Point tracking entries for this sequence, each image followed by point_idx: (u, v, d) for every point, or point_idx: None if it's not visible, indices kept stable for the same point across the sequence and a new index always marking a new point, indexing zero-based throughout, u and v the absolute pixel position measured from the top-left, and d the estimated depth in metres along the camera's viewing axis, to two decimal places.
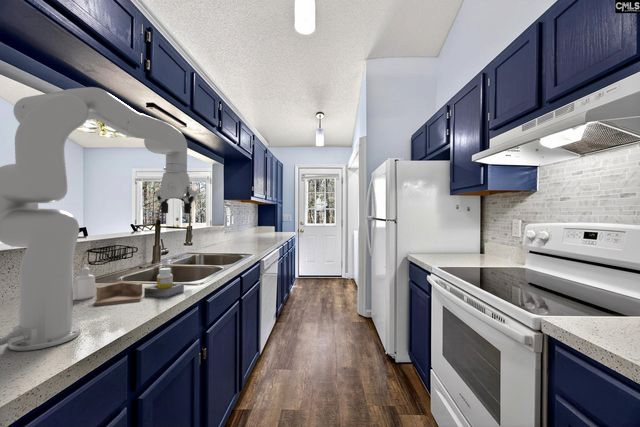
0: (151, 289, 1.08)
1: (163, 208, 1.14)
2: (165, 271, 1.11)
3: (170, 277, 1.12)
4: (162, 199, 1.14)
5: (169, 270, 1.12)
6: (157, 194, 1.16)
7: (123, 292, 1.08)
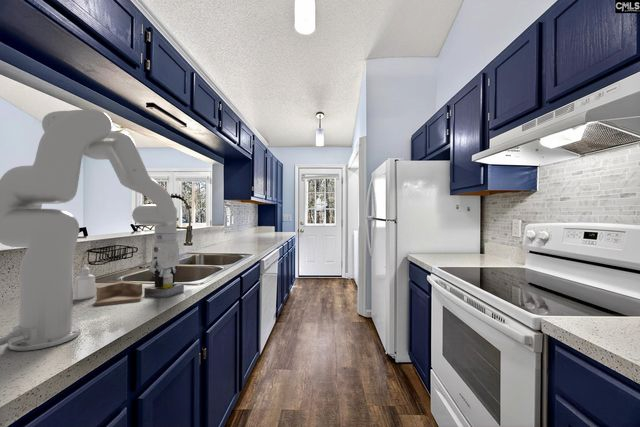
0: (151, 289, 1.08)
1: None
2: (165, 271, 1.11)
3: (170, 277, 1.12)
4: (162, 272, 1.09)
5: (169, 270, 1.12)
6: (154, 269, 1.06)
7: (123, 292, 1.08)
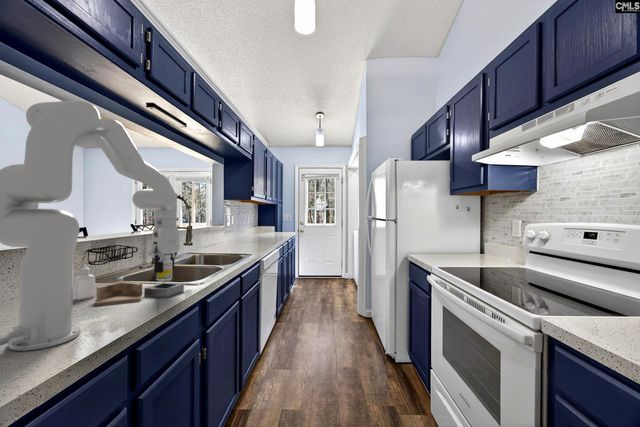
0: (151, 289, 1.08)
1: None
2: (165, 257, 1.10)
3: (170, 263, 1.11)
4: (161, 258, 1.09)
5: (169, 256, 1.12)
6: (154, 254, 1.06)
7: (123, 292, 1.08)
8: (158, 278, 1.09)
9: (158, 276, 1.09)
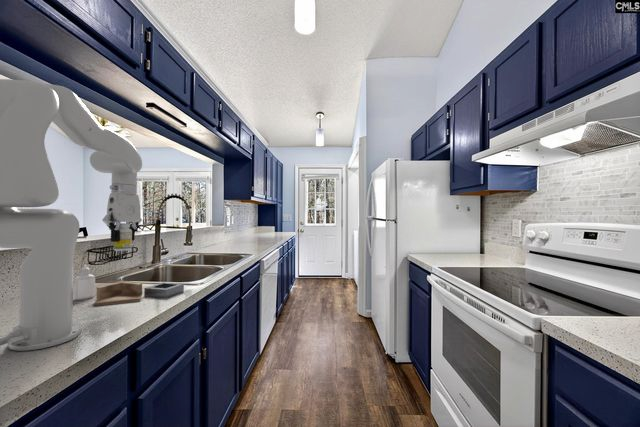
0: (151, 289, 1.08)
1: None
2: (122, 225, 1.03)
3: (129, 232, 1.04)
4: (118, 226, 1.01)
5: (127, 225, 1.04)
6: (109, 221, 0.98)
7: (123, 292, 1.08)
8: (115, 248, 1.02)
9: (115, 246, 1.02)
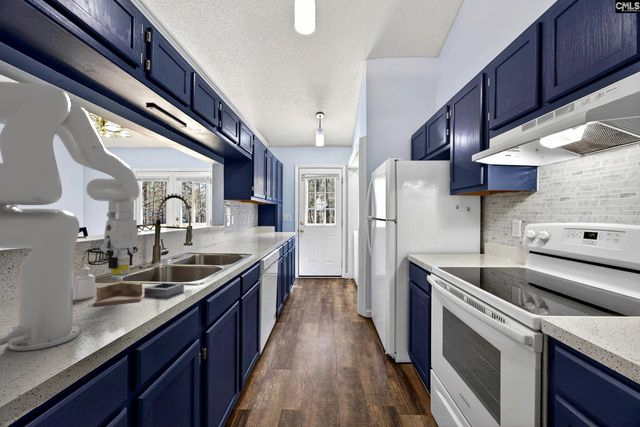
0: (151, 289, 1.08)
1: None
2: (120, 251, 1.03)
3: (126, 258, 1.04)
4: (116, 253, 1.01)
5: (125, 251, 1.04)
6: (106, 249, 0.98)
7: (123, 292, 1.08)
8: (113, 274, 1.02)
9: (113, 272, 1.02)
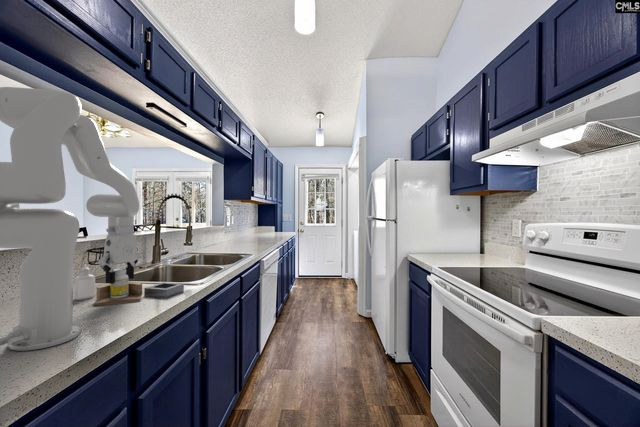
0: (151, 289, 1.08)
1: None
2: (119, 272, 1.02)
3: (125, 279, 1.03)
4: (113, 267, 1.00)
5: (124, 271, 1.03)
6: (104, 264, 0.97)
7: None
8: (112, 295, 1.01)
9: (112, 293, 1.01)
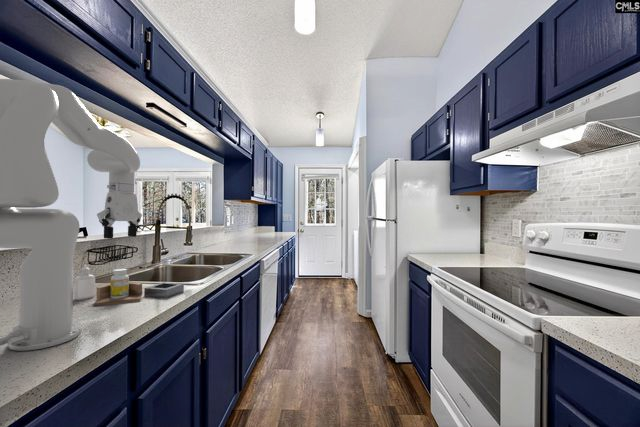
0: (151, 289, 1.08)
1: None
2: (119, 272, 1.02)
3: (126, 279, 1.03)
4: (111, 222, 0.99)
5: (124, 271, 1.04)
6: (102, 217, 0.97)
7: None
8: (112, 295, 1.01)
9: (112, 293, 1.01)
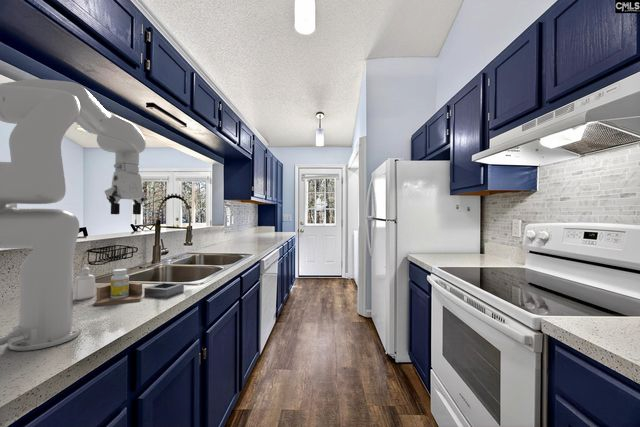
0: (151, 289, 1.08)
1: None
2: (119, 272, 1.02)
3: (126, 279, 1.03)
4: (118, 199, 1.06)
5: (124, 271, 1.04)
6: (110, 194, 1.04)
7: None
8: (112, 295, 1.01)
9: (112, 293, 1.01)
